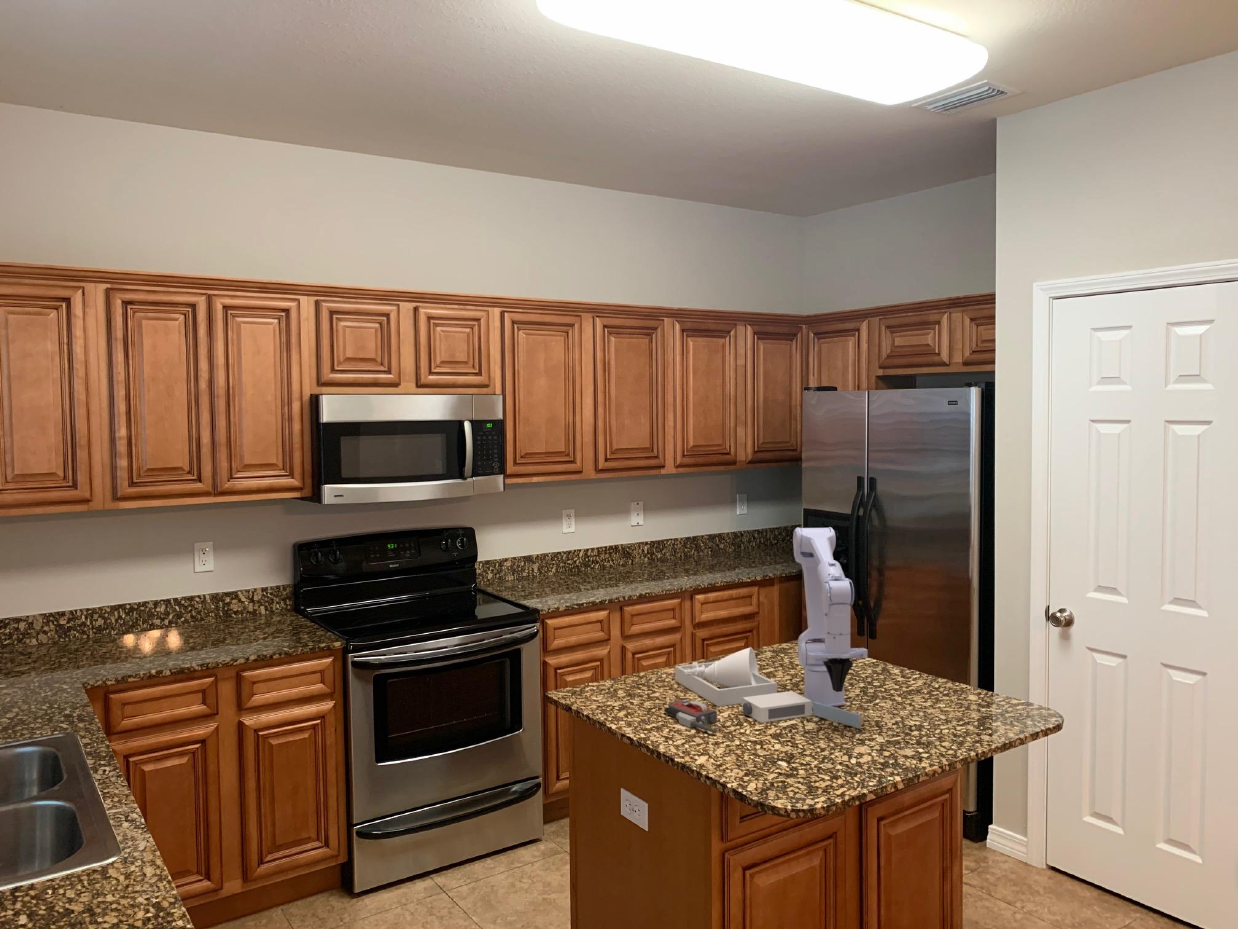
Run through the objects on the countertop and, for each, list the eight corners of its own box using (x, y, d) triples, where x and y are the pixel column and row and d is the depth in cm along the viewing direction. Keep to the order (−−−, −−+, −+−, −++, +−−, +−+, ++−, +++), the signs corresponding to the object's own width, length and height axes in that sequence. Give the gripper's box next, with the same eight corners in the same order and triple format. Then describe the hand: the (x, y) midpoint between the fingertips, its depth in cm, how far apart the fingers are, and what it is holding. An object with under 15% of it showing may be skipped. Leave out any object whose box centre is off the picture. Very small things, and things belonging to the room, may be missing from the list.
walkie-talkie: (656, 716, 226) (711, 739, 210) (656, 698, 226) (711, 719, 209) (684, 709, 231) (740, 731, 215) (684, 692, 231) (740, 712, 215)
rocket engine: (681, 645, 248) (748, 639, 243) (693, 667, 256) (758, 661, 251) (680, 684, 240) (748, 679, 235) (691, 705, 248) (758, 700, 243)
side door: (812, 714, 224) (812, 702, 223) (817, 713, 225) (817, 701, 224) (859, 728, 213) (859, 715, 213) (863, 727, 214) (863, 714, 214)
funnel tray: (730, 674, 261) (730, 660, 261) (777, 698, 238) (777, 683, 238) (675, 680, 255) (675, 666, 255) (717, 706, 232) (717, 690, 232)
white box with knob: (791, 704, 233) (791, 691, 233) (811, 715, 224) (812, 701, 224) (738, 712, 227) (738, 698, 227) (757, 723, 219) (757, 708, 219)
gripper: (817, 638, 209) (817, 698, 210) (874, 633, 213) (874, 692, 214) (802, 631, 216) (802, 689, 217) (858, 627, 220) (858, 684, 221)
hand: (837, 690), depth 216 cm, fingers closed
